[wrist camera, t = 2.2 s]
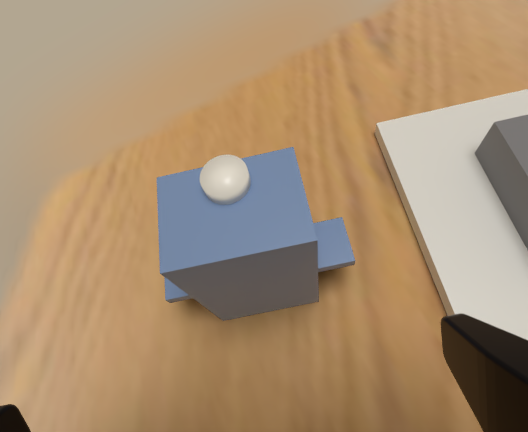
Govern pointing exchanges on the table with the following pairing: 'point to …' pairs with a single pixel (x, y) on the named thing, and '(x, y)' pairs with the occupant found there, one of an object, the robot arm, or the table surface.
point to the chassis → (468, 202)
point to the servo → (244, 236)
